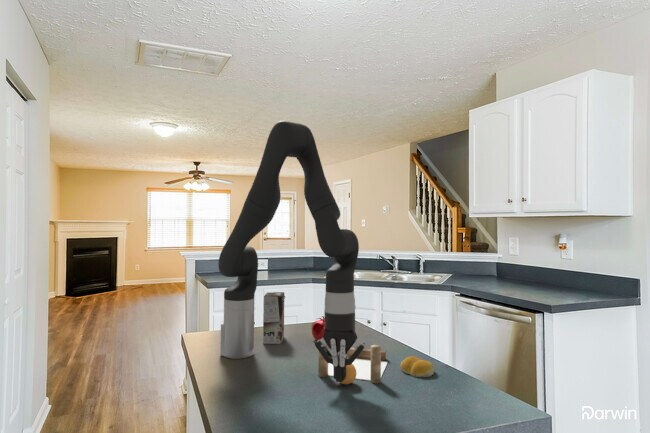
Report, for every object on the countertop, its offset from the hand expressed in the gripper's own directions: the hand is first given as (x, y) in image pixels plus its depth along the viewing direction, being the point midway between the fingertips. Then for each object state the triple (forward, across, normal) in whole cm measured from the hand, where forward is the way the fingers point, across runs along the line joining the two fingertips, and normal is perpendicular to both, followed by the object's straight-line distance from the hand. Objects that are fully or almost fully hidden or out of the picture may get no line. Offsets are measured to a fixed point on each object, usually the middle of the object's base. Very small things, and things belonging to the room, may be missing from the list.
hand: (340, 380), depth 103 cm
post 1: (+2, -7, +8) cm, 10 cm away
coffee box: (+1, -33, +34) cm, 48 cm away
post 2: (+2, +8, +8) cm, 11 cm away
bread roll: (+2, +17, +19) cm, 25 cm away
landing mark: (+2, 0, +16) cm, 16 cm away
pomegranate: (+1, -16, +41) cm, 44 cm away
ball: (-1, 0, +4) cm, 4 cm away
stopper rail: (+2, 0, +26) cm, 26 cm away
